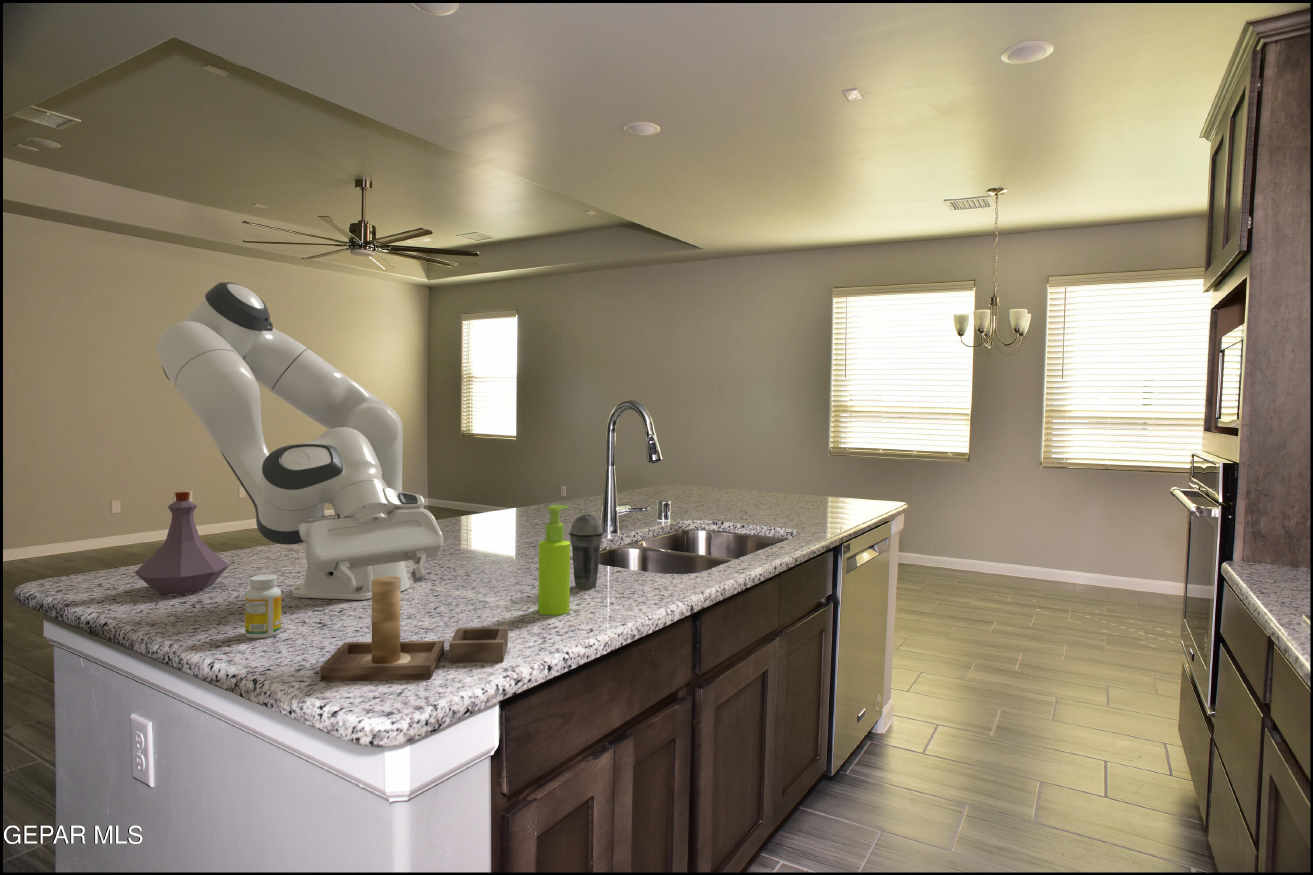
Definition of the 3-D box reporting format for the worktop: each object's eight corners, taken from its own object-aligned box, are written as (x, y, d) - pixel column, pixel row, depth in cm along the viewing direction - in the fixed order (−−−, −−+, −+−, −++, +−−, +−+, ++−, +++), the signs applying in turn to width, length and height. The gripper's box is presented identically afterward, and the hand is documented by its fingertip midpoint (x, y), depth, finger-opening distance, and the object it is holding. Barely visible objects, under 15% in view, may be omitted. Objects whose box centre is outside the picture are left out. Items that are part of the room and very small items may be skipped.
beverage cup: (605, 583, 163) (606, 492, 162) (599, 591, 156) (600, 496, 155) (572, 582, 164) (573, 491, 163) (565, 590, 156) (566, 495, 156)
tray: (320, 681, 104) (320, 667, 103) (344, 654, 114) (344, 642, 114) (430, 678, 105) (430, 665, 105) (444, 653, 116) (444, 640, 116)
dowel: (368, 664, 108) (368, 582, 107) (375, 655, 112) (375, 576, 111) (396, 664, 108) (396, 582, 107) (403, 654, 112) (403, 576, 111)
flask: (186, 577, 162) (186, 486, 161) (248, 583, 158) (247, 490, 157) (113, 595, 146) (112, 494, 145) (179, 603, 142) (178, 499, 141)
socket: (449, 662, 112) (449, 643, 112) (457, 645, 120) (457, 627, 120) (503, 661, 113) (503, 642, 113) (508, 644, 121) (508, 626, 120)
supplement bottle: (253, 641, 120) (252, 582, 120) (239, 634, 124) (239, 577, 123) (287, 633, 125) (286, 577, 124) (273, 627, 128) (273, 571, 128)
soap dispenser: (576, 607, 144) (578, 504, 143) (560, 616, 137) (562, 508, 136) (549, 604, 145) (550, 502, 145) (532, 613, 139) (533, 507, 138)
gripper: (299, 505, 110) (320, 583, 103) (431, 494, 123) (458, 562, 116) (291, 531, 114) (312, 608, 107) (421, 518, 127) (446, 585, 120)
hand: (389, 584), depth 112 cm, fingers open, 8 cm apart
